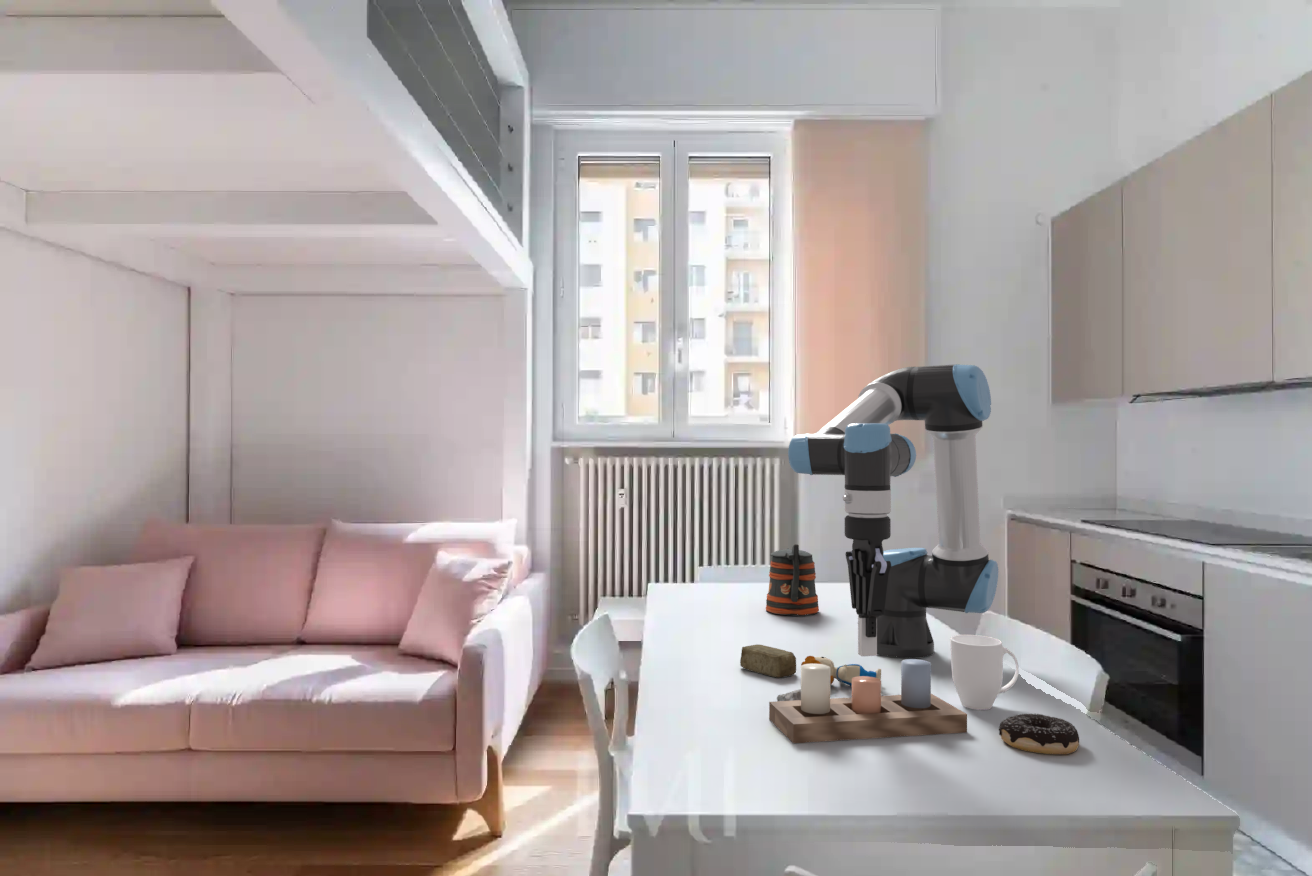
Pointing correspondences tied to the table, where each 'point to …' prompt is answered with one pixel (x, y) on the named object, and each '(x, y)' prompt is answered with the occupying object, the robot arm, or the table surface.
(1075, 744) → the donut
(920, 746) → the table surface
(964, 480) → the robot arm
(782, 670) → the stone block
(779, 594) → the beer stein
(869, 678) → the cap terracotta
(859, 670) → the toy
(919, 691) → the cap slate
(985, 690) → the mug
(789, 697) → the stone
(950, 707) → the wooden compartment tray
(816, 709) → the white rounded cylinder
